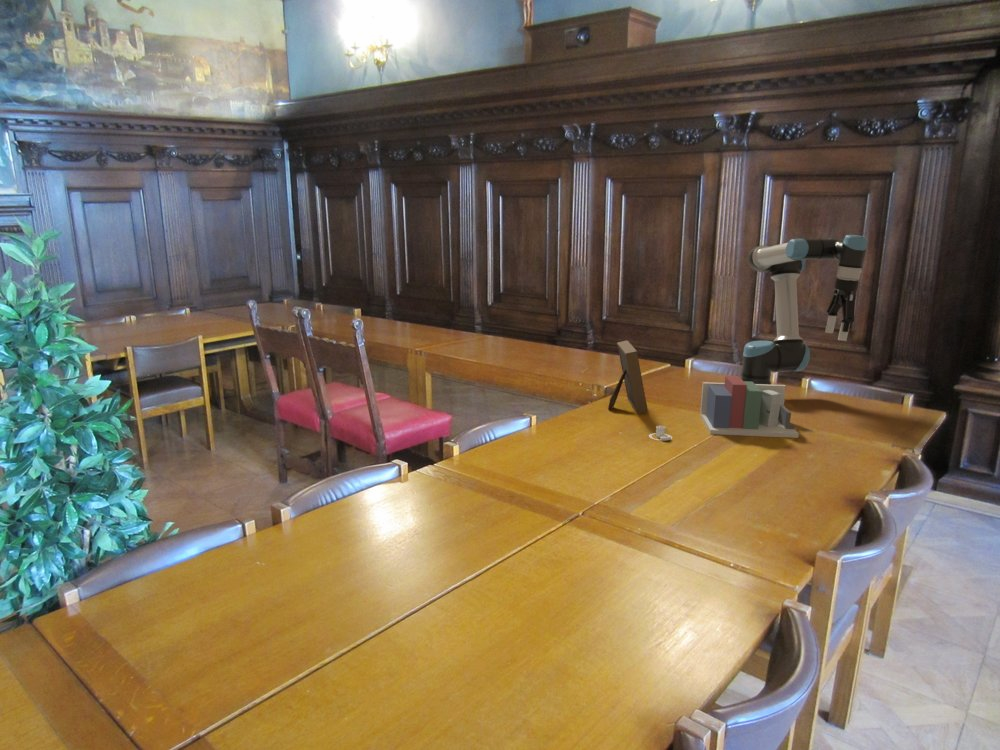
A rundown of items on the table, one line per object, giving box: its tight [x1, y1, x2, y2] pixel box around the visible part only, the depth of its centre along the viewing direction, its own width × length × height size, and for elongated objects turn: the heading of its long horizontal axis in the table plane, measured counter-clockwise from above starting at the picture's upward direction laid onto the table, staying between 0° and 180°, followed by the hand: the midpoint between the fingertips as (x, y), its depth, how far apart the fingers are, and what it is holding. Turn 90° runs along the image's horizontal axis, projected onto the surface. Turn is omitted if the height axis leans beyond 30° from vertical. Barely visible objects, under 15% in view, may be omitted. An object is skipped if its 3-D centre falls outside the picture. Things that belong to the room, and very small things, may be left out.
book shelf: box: [699, 375, 800, 439], centre depth 244 cm, size 22×30×18 cm
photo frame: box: [607, 340, 649, 415], centre depth 268 cm, size 15×22×25 cm
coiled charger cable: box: [648, 425, 673, 442], centre depth 233 cm, size 9×8×4 cm
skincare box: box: [759, 390, 782, 427], centre depth 243 cm, size 6×4×12 cm
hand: (835, 336), depth 247 cm, fingers open, 13 cm apart
